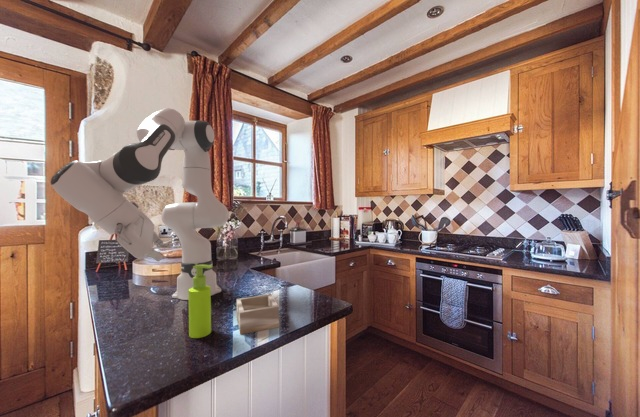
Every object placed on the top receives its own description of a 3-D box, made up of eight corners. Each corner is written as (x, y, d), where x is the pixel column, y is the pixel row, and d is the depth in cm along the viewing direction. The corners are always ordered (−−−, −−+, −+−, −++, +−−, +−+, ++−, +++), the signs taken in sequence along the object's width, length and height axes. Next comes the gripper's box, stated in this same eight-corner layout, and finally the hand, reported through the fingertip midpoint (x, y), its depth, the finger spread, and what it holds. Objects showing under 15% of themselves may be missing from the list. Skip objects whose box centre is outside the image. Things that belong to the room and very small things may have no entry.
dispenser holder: (236, 317, 86) (236, 299, 86) (270, 311, 91) (270, 294, 91) (240, 334, 75) (240, 312, 75) (279, 326, 79) (278, 306, 79)
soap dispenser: (206, 339, 72) (205, 267, 72) (184, 337, 74) (183, 266, 73) (218, 329, 78) (217, 263, 78) (198, 327, 79) (197, 262, 79)
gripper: (126, 223, 60) (171, 260, 68) (134, 200, 77) (170, 231, 84) (101, 241, 59) (149, 277, 66) (115, 213, 76) (152, 244, 83)
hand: (161, 251), depth 75 cm, fingers open, 8 cm apart
